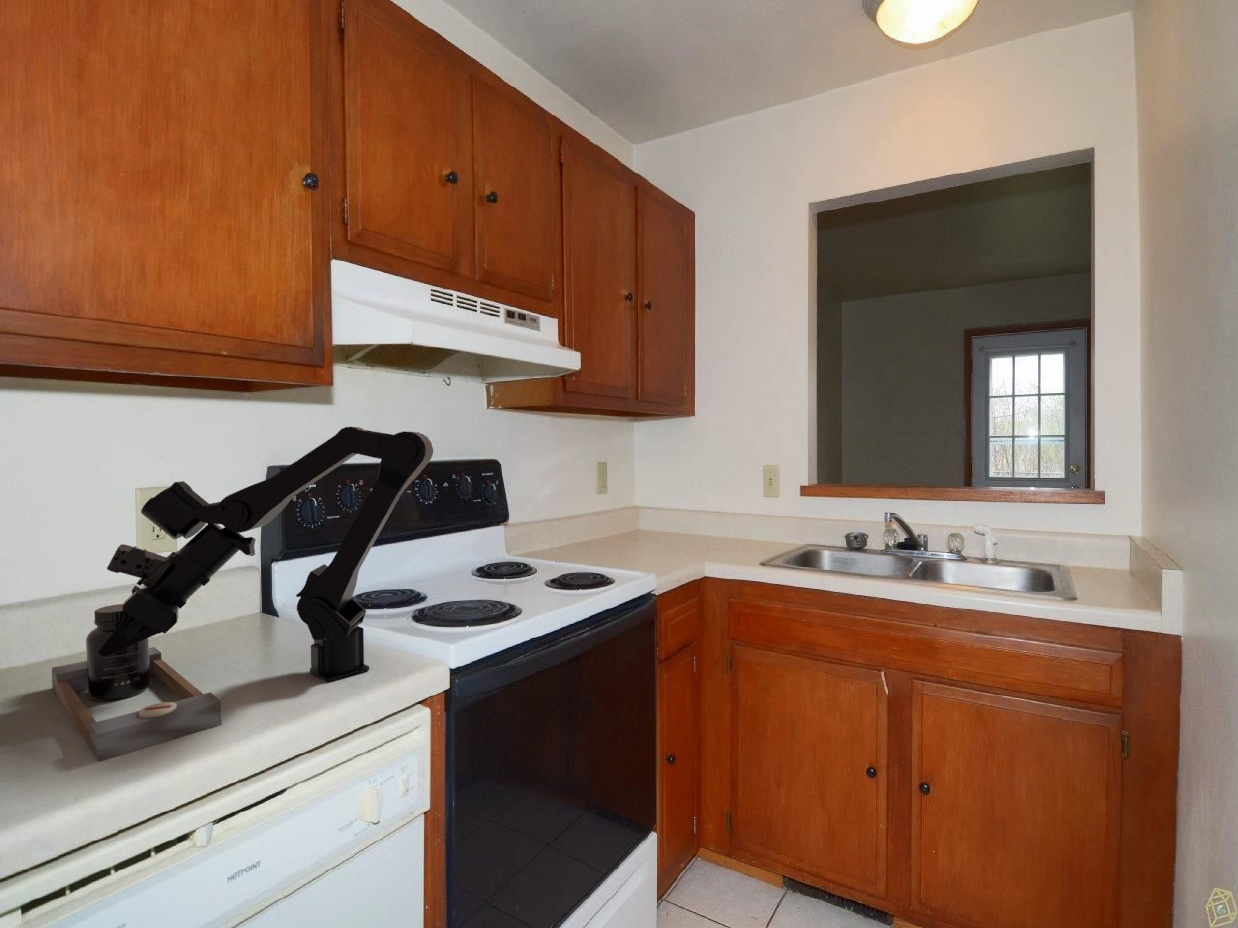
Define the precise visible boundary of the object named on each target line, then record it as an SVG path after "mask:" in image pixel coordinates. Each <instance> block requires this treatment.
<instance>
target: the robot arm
mask: <svg viewBox="0 0 1238 928" xmlns="http://www.w3.org/2000/svg"><path fill="white" fill-rule="evenodd" d="M356 455H360V456H365V457H370V458H374V459H379V460H380V463H379V468H378V474H377V477H376V482H375V484H374V485H373V487H372V489H371V491H370V492H369V494H368V496H367V498H366V499H365V502H364V503H363V505H362V507H361V508H360V510H359V512H358V514H357V516H356V518H355V519H354V521H353V523H352V524H351V527H350V528H349V530H348V532H347V533H346V535H345V537H344V539H343V541H342V542H341V544H340V546H339V548H338V550H337V552H336V553H335V556H334V557H333V559H332V561H331V562H330V563H329V564H328V565H326V563H324V564H321V565H320V566H319V567H317V568H314V569H313V570H311V571H310V572H309V573H308V576H307V578H306V580H305V584H304V585H303V587H302V589H301V590H300V591H299V592H298V593H297V594H296V595H295V597H296V598H299V599H298V601H297V604H296V612H297V614H298V616H299V618H300V620H301V621H302V622H303V623H304V624H305V625H307V626H306V627H307V628H308V630H309V633H310V635H311V637H312V640H313V644H311V645H310V668H309V672H310V673H312V674H314V675H315V676H317V677H318V678H320V679H323V680H324V681H327V682H331V681H334V680H339V679H342V678H345V677H346V678H347V677H349V676H353V675H356V674H360V673H363V672H366V671H369V670H370V666H369V665H367V664H366V663H365V647H364V646H365V645H364V643H365V642H364V639H365V637H364V635H365V634H364V627H362V626H359V625H361V624H362V623H364V619H365V618H366V617H365V616H366V614H367V610H366V609H365V608H364V607H363V606H362V605H361V604H360V603H359V602H358V601H357V600H356V599H354V598H353V597H354V596H353V595H354V592H355V590H356V587H357V581H358V576H359V572H360V570H361V567H362V565H363V564H364V562H365V560H366V558H367V556H368V555H369V553H370V551H371V550H372V547H373V546H374V544H375V542H376V540H377V538H378V536H379V535H380V533H381V532H382V530H383V528H384V526H385V524H386V523H387V521H388V519H389V517H390V515H391V513H393V510H394V508H395V507H396V505H397V502H398V501H399V499H400V497H401V496H402V494H403V492H404V491H405V490H406V489H407V488H408V486H410V484H411V483H413V482H414V480H415V479H416V478H417V477H418V476H419V475H420V474H421V472H422V471H423V470H424V468H426V466H427V465H428V464H429V463H430V461H431V459H432V458H433V455H434V447H433V444H432V441H431V440H430V439H429V437H427V435H425V434H423V433H420V432H417V431H405V430H403V431H400V432H397V433H394V434H392V433H391V434H390V433H385V432H379V431H373V430H367V429H364V428H362V427H358V426H345V427H342V428H341V429H340V430H339V431H338V432H337V433H336V434H335V435H333V436H332V437H330V438H329V439H327V440H326V441H324V442H322V443H321V444H319V445H318V446H317V447H315V448H314V449H312V450H310V451H309V452H308V453H307V454H306V453H305V455H303V456H302V457H300V458H299V459H297V460H296V461H295V462H292V464H290V465H288V466H287V467H285V468H284V469H282V470H281V471H279V472H278V473H276V474H274V475H273V476H272V477H269V478H266V479H264V480H262V481H260V482H257V483H254V484H252V485H249V486H246V487H244V488H242V489H239V490H238V491H235V492H233V493H231V494H228V495H226V496H225V497H223V498H222V499H221V501H217V502H212V503H211V502H210V503H209V502H208V501H206V500H205V499H204V498H203V497H202V496H200V495H199V494H198V493H197V492H196V491H194V490H193V488H192V487H191V486H190V485H189V484H188V483H187V482H185V481H184V480H182V481H175V482H173V483H172V484H171V486H169V487H167V488H165V489H163V490H162V491H160V492H159V493H157V494H156V495H154V497H150V498H149V499H148V500H147V502H146V503H145V504H144V505H143V506H142V507H141V511H140V514H142V516H144V517H145V518H146V519H148V520H149V521H150V522H152V523H153V524H154V525H155V526H157V527H158V528H159V529H160V530H161V531H163V532H164V533H165V534H166V535H168V536H169V537H170V538H171V539H173V540H177V539H180V538H184V539H185V540H187V539H190V538H191V539H190V540H189V541H188V542H186V544H184V546H182V547H181V548H180V549H179V550H176V551H172V552H171V553H170V554H169V555H167V556H163V555H160V554H158V553H155V552H152V551H149V550H147V549H145V548H143V549H142V548H138V547H137V546H135V545H134V546H131V545H129V544H128V545H127V544H120V545H119V546H118V547H117V549H116V551H115V552H114V554H113V556H112V558H111V560H110V562H109V563H108V565H107V567H106V570H107V571H108V572H109V571H110V572H113V573H116V574H118V573H120V574H121V573H122V574H125V575H128V576H132V577H136V578H139V579H138V580H137V582H136V584H137V585H138V586H137V585H133V588H132V589H131V595H130V596H129V597H128V598H127V599H126V600H124V602H123V603H122V604H123V605H122V610H123V620H122V621H121V623H120V624H119V625H118V626H117V628H116V629H115V630H114V632H113V633H112V634H111V635H110V637H109V638H108V639H107V641H106V642H105V643H104V644H103V646H102V647H101V648H100V650H99V651H98V654H100V655H101V656H103V657H106V656H108V655H111V654H113V653H115V652H117V651H119V650H122V649H124V648H126V647H128V646H130V645H133V644H135V643H137V642H139V641H142V640H144V639H146V638H148V639H149V638H151V637H154V636H156V635H159V634H161V633H162V634H167V632H169V631H170V630H171V629H172V628H173V627H174V626H175V625H176V624H177V623H178V619H179V609H182V608H183V607H184V606H185V605H186V604H187V602H188V601H187V600H188V599H190V598H191V597H192V596H193V595H194V594H195V593H196V592H197V591H198V590H199V589H200V588H201V587H204V586H206V585H207V584H208V583H209V582H210V581H211V578H212V577H213V576H214V575H216V573H217V572H218V571H219V570H220V569H221V568H222V567H223V566H225V565H226V563H228V562H229V561H230V560H231V559H232V558H233V557H234V556H236V554H237V553H238V552H239V551H241V553H243V554H244V555H246V556H249V557H254V556H255V555H256V549H255V544H256V541H257V540H256V538H255V537H253V536H250V537H245V536H244V535H242V534H241V533H244V532H248V531H251V530H254V529H258V528H262V527H264V526H266V525H268V524H270V522H272V520H274V519H275V518H276V517H277V515H279V514H280V513H281V512H282V511H283V510H284V509H285V508H286V506H287V505H288V504H289V503H290V502H291V500H292V499H293V498H294V497H295V496H296V495H298V494H299V493H301V492H302V491H304V490H305V489H307V488H308V487H309V486H311V485H312V484H314V483H316V482H317V481H319V480H320V479H322V478H323V477H325V476H326V475H327V474H329V473H331V472H332V471H334V470H335V469H337V468H338V467H340V466H341V465H342V464H344V463H345V462H347V461H348V460H351V458H353V457H354V456H356ZM220 525H222V526H223V527H221V526H220ZM142 585H143V586H142ZM139 586H142V587H141V588H140V587H139Z"/></svg>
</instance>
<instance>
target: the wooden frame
mask: <svg viewBox="0 0 1238 928" xmlns="http://www.w3.org/2000/svg"><path fill="white" fill-rule="evenodd" d="M149 668H150V676H151V675H154V676H155V677H156V678H157V679H159V681H160V682H162V683H163V684H164V685H165V686H167V688H169V689H170V691H172V692H173V693H174V694H175V696H177V697H179V698H180V699H179V700H176V701H173V702H171V701H165V702H159V703H154V704H151V705H147V706H145V707H143V708H141V709H139V710H138V711H133V712H129V713H126V714H123V715H122V714H121V715H118V716H115V717H110V718H106V719H103V720H99V721H96V720H95V718H94V717H93V715H92V713H91V712H90V711H89V710H88V709H87V707H86V705H85V704H84V703H83V701H82V700H81V697H79V696H78V694H77V693H76V692H82V691H85V690H88V676H87V660H83V661H78V662H73V663H68V664H63V665H59V666H58V665H57V666H54V667H53V666H52V667H51V682H52V685H51V686H52V691H53V692H54V693H55V695H56V696H57V698H58V700H59V701H60V704H61V705H62V706H63V708H64V709H65V711H66V713H67V714H68V715H69V718H70V719H71V720H72V722H73V723H74V726H75V727H76V728H77V730H78V732H79V733H80V735H81V736H82V738H83V740H84V741H85V742H86V743H85V744H87V746H88V748H89V749H90V751H91V753H92V754H93V755H94V757H95V759H96V760H97V762H100V761H103V760H104V761H105V760H107V759H111V758H114V757H117V756H121V755H125V754H127V753H130V752H135V751H137V750H138V751H139V750H142V749H145V748H148V747H151V746H154V745H158V744H160V743H165V742H168V741H170V740H171V741H172V740H175V739H178V738H181V737H185V736H188V735H191V734H195V733H198V732H201V731H205V730H207V729H208V728H209V729H212V728H215V726H216V727H218V725H219V726H222V700H221V699H219V697H217V696H215V694H213V693H212V692H207V693H206V692H205V693H203V692H202V691H200V690H199V689H198V688H197V687H196V686H194V685H193V684H192V683H190V682H189V681H188V680H187V679H186V678H185V677H184V676H182V675H181V673H179V672H178V671H176V670H175V669H174V668H173V667H171V666H170V665H169V664H168V663H167V662H166V661H164V660H163V659H162V652H161V651H160V650H159V649H157V648H156V647H154V646H152V647H149ZM209 729H208V730H209Z"/></svg>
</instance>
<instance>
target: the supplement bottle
mask: <svg viewBox="0 0 1238 928" xmlns="http://www.w3.org/2000/svg"><path fill="white" fill-rule="evenodd" d="M123 604H124V603H119V604H112V605H106V606H103V607H99V608H97V609H95V610H94V620H93V622H94V623H93V624H94V625H95V626H96V627H95V628H94V629H92V630H91V631H90V632H89V633H88V635H87V636H86V638H85V649H86V650H85V651H86V661H87V676H88V689H87V690H88V691H87V693H88V694H87V695H88V697H89V698H90V699H91V700H93V701H95V702H112V701H117V700H122V699H127V698H131V697H134V696H137V695H139V694H141V693H143V692H145V691H146V690H147V689H148V688H149V686H150V684H151V683H150V682H151V679H150V678H151V675H150V668H149V648H150V646H149V645H150V643H149V640H150V639H149V638H146V639H144V640H142V641H139V642H137V643H135V644H133V645H130V646H128V647H126V648H124V649H122V650H119V651H117V652H115V653H113V654H111V655H108V656H106V657H103V656H101V655H100V654H98V651H99V650H100V648H101V647H102V646H103V644H104V643H105V642H106V641H107V639H108V638H109V637H110V635H111V634H112V633H113V632H114V630H115V629H116V628H117V626H118V625H119V624H120V623H121V621H122V620H123V610H122V605H123Z"/></svg>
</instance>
